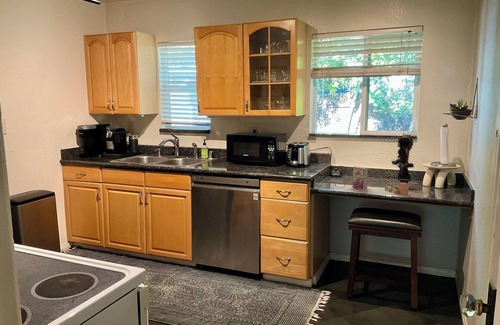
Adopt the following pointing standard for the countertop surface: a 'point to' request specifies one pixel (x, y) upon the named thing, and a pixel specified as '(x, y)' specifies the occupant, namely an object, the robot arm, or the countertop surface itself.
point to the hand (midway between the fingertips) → (402, 175)
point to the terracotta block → (403, 188)
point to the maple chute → (392, 189)
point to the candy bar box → (360, 177)
